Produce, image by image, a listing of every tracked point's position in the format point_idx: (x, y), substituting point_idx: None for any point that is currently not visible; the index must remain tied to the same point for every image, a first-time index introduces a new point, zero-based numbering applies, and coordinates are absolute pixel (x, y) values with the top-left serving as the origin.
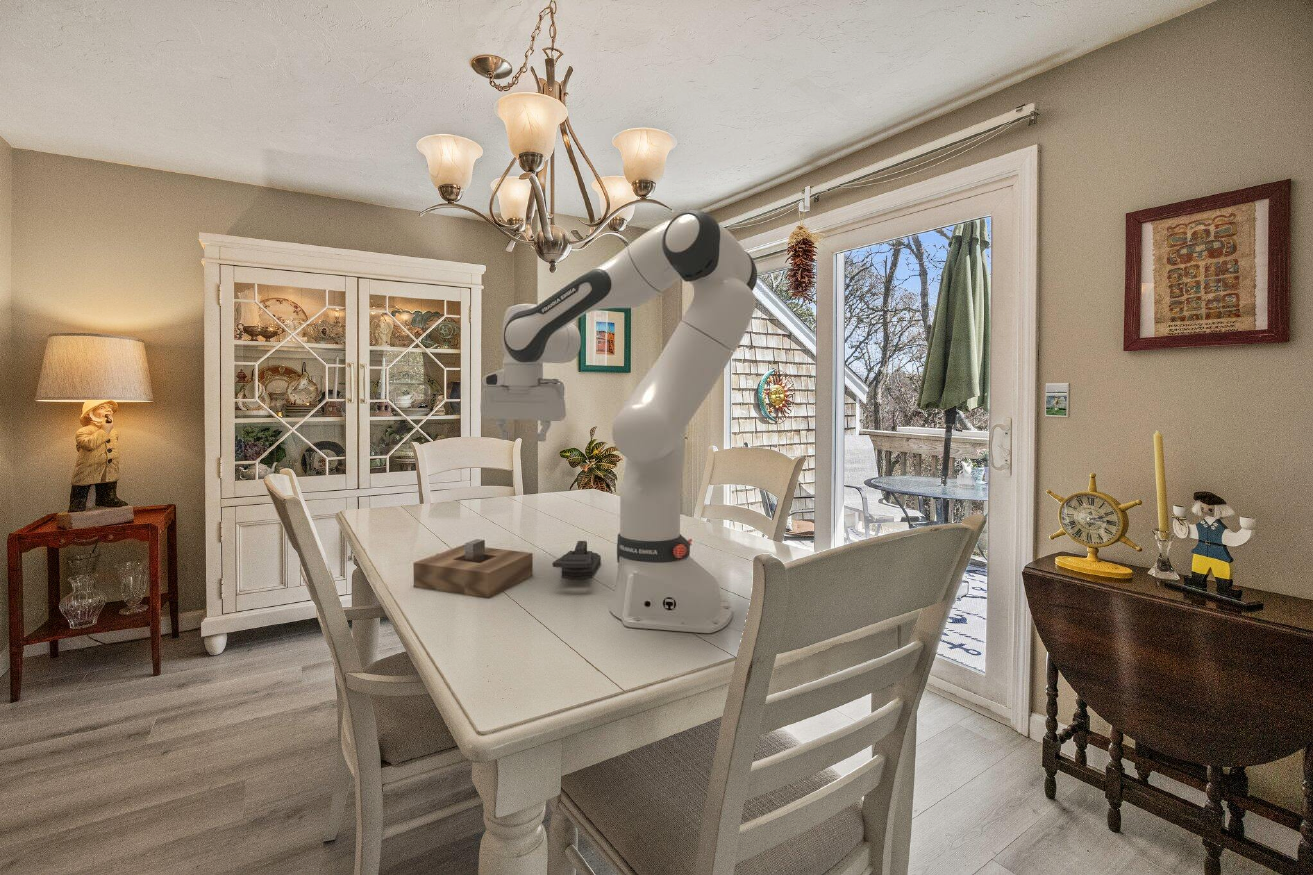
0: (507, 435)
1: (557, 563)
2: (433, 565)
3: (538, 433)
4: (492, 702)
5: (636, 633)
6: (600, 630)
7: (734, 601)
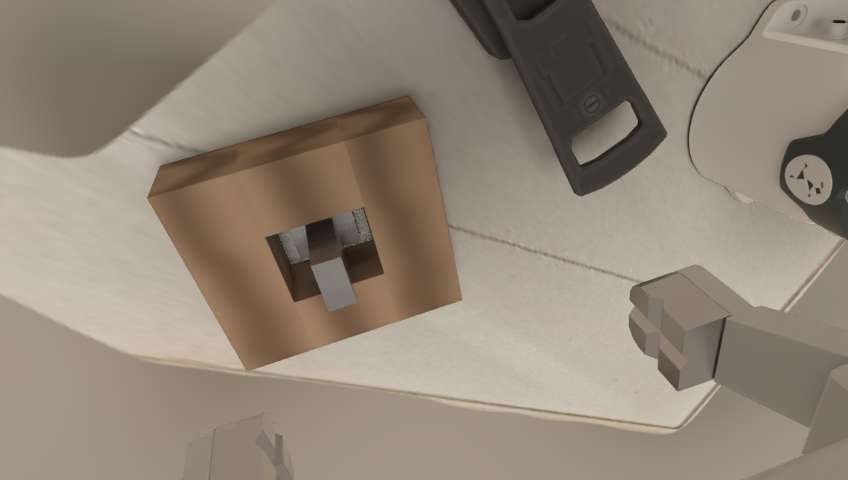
0: (272, 465)
1: (592, 191)
2: (308, 350)
3: (699, 378)
4: (662, 405)
5: (756, 205)
6: (702, 232)
7: None
